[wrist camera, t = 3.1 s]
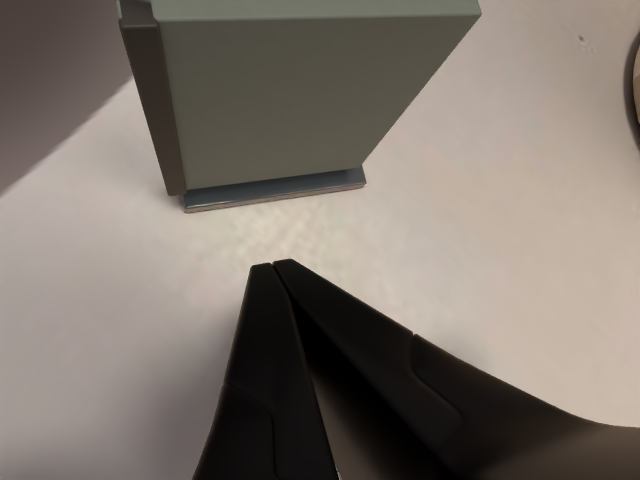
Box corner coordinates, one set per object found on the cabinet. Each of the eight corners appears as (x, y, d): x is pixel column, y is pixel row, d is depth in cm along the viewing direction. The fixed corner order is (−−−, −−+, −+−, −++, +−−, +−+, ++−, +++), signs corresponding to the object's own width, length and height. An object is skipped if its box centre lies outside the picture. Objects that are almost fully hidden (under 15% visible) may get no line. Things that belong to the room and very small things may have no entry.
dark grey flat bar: (363, 187, 20) (367, 183, 19) (185, 213, 17) (184, 209, 17) (354, 156, 20) (358, 150, 19) (179, 177, 18) (178, 172, 17)
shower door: (360, 171, 18) (485, 19, 10) (168, 196, 16) (119, 28, 8) (355, 152, 19) (474, -13, 10) (164, 175, 16) (112, -14, 8)
